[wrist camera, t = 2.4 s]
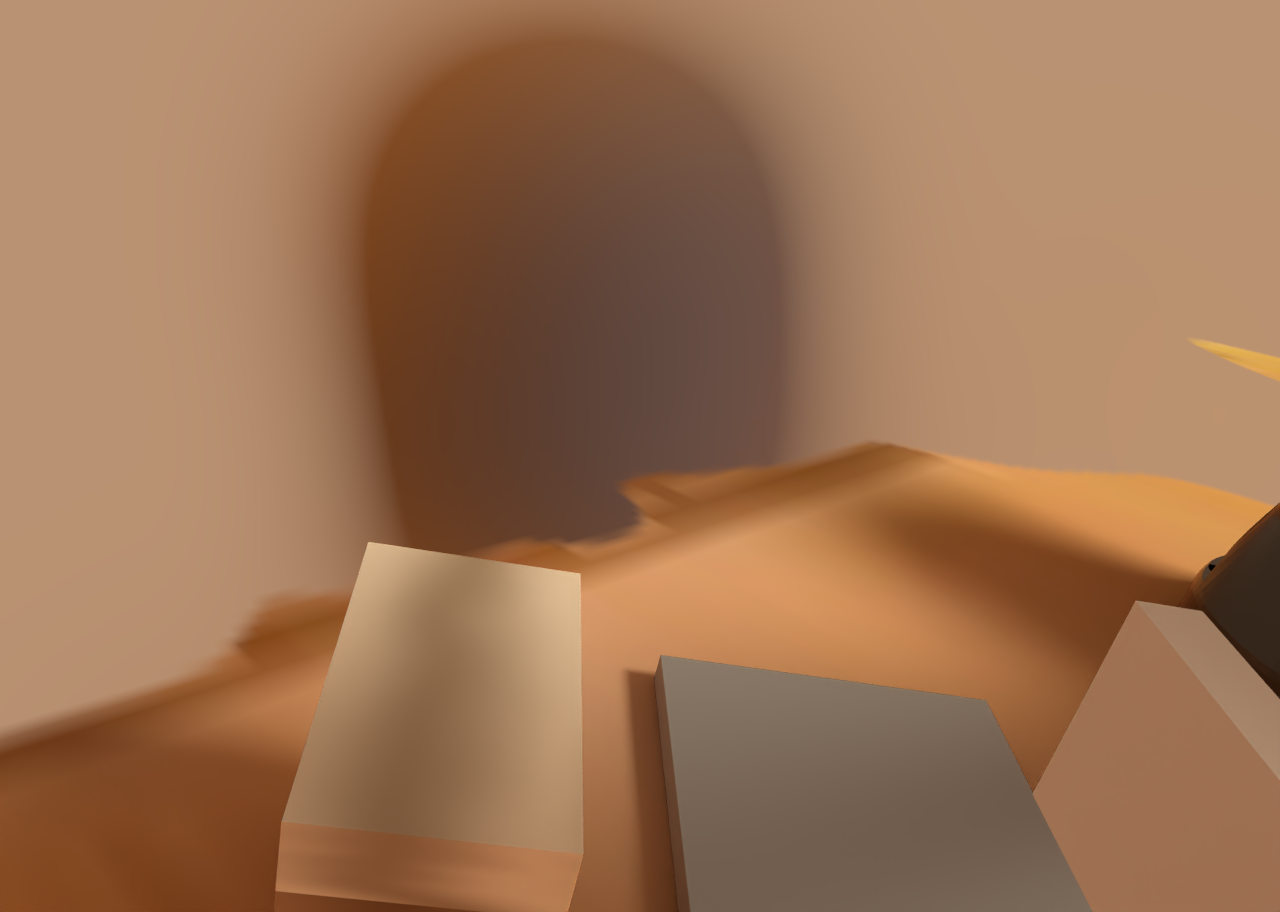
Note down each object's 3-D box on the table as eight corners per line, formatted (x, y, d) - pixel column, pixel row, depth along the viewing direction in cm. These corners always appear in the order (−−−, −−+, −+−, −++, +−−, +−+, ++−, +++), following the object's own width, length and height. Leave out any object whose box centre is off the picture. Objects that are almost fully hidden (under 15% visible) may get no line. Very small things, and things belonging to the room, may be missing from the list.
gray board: (975, 721, 45) (986, 700, 44) (1197, 1180, 29) (1217, 1155, 28) (654, 678, 42) (660, 655, 42) (702, 1146, 27) (714, 1119, 26)
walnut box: (522, 820, 35) (580, 573, 30) (505, 1135, 26) (584, 854, 21) (337, 799, 34) (368, 542, 29) (255, 1119, 25) (281, 821, 21)
